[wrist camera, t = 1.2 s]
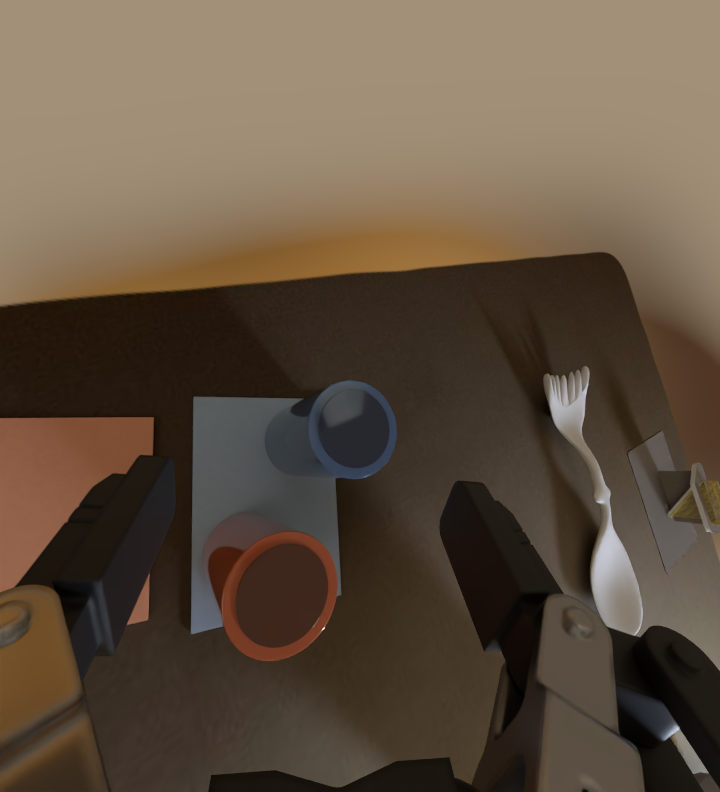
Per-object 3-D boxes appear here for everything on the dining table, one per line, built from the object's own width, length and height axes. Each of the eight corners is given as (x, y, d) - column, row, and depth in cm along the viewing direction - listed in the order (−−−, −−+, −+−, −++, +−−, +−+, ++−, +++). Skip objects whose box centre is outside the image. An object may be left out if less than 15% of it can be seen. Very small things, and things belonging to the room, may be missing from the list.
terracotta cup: (201, 606, 25) (221, 681, 16) (201, 517, 26) (221, 541, 17) (284, 586, 27) (342, 641, 19) (282, 507, 28) (335, 523, 20)
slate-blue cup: (265, 479, 28) (311, 483, 19) (263, 405, 29) (306, 377, 20) (334, 473, 31) (401, 474, 22) (330, 405, 32) (393, 381, 23)
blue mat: (190, 632, 24) (191, 634, 24) (193, 397, 27) (193, 396, 27) (340, 594, 30) (341, 595, 29) (329, 399, 32) (331, 399, 32)
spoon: (566, 370, 49) (592, 364, 46) (631, 611, 47) (663, 620, 44) (524, 379, 45) (549, 372, 42) (593, 644, 42) (626, 658, 39)
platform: (666, 573, 52) (728, 586, 47) (627, 453, 53) (683, 451, 47) (697, 538, 58) (755, 546, 52) (662, 430, 59) (715, 426, 53)
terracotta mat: (-50, 664, 19) (-53, 667, 19) (-23, 418, 21) (-25, 418, 21) (148, 618, 23) (148, 620, 23) (154, 417, 26) (154, 416, 25)
